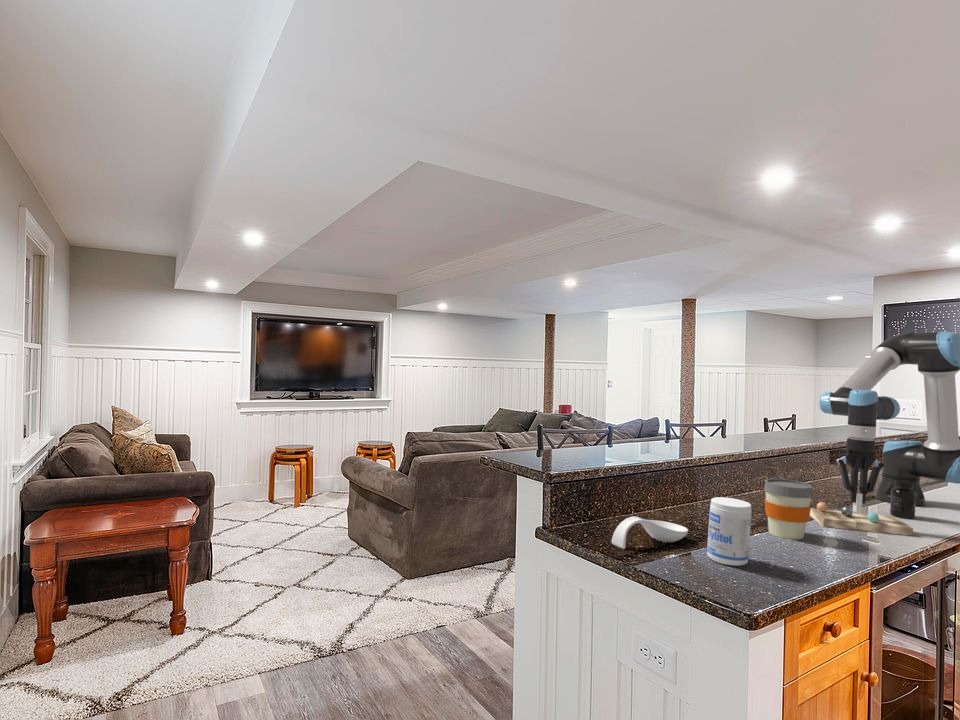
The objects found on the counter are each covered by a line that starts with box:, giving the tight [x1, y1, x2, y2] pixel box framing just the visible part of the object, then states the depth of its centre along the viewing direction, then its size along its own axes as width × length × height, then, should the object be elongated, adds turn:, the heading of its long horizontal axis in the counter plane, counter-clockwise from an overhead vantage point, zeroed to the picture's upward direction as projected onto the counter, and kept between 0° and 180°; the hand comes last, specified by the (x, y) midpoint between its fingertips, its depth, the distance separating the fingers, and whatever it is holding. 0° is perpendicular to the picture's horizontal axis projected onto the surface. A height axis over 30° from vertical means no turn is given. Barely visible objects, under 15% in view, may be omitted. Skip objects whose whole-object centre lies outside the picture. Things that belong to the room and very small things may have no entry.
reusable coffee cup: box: [763, 478, 814, 540], centre depth 165 cm, size 13×12×15 cm
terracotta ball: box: [816, 501, 828, 512], centre depth 184 cm, size 3×3×3 cm
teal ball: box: [867, 511, 879, 523], centre depth 173 cm, size 3×3×3 cm
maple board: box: [809, 507, 914, 536], centre depth 178 cm, size 24×13×2 cm, turn 76°
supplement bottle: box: [889, 480, 917, 520], centre depth 192 cm, size 7×7×12 cm
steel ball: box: [840, 505, 853, 516], centre depth 179 cm, size 3×3×3 cm
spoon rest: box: [611, 515, 689, 550], centre depth 153 cm, size 24×12×7 cm, turn 121°
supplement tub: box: [706, 496, 753, 567], centre depth 141 cm, size 10×10×15 cm
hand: (857, 513), depth 178 cm, fingers closed
